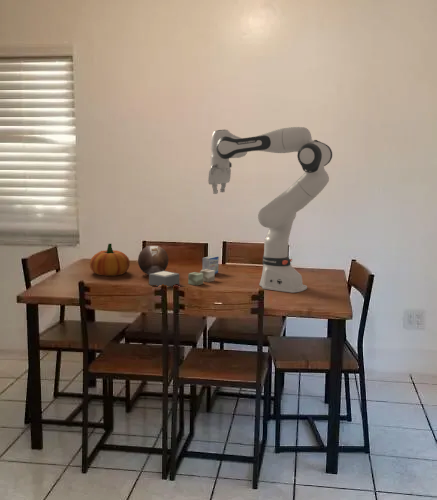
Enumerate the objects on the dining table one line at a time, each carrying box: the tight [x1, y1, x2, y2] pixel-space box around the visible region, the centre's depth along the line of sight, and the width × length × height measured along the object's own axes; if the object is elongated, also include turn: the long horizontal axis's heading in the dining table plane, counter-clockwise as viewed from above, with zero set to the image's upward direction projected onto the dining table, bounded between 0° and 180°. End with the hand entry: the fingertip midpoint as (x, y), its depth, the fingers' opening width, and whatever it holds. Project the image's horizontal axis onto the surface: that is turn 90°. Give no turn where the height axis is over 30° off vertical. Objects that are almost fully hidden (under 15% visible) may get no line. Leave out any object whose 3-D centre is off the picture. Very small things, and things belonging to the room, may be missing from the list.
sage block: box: [187, 271, 204, 286], centre depth 288 cm, size 5×5×5 cm
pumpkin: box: [89, 243, 131, 277], centre depth 304 cm, size 19×19×15 cm
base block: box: [148, 270, 180, 287], centre depth 285 cm, size 10×10×5 cm
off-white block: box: [199, 269, 216, 283], centre depth 295 cm, size 5×5×5 cm
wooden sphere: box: [137, 244, 169, 276], centre depth 303 cm, size 15×15×15 cm
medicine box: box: [201, 255, 220, 275], centre depth 310 cm, size 8×4×9 cm, turn 143°
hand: (219, 193), depth 296 cm, fingers open, 8 cm apart
